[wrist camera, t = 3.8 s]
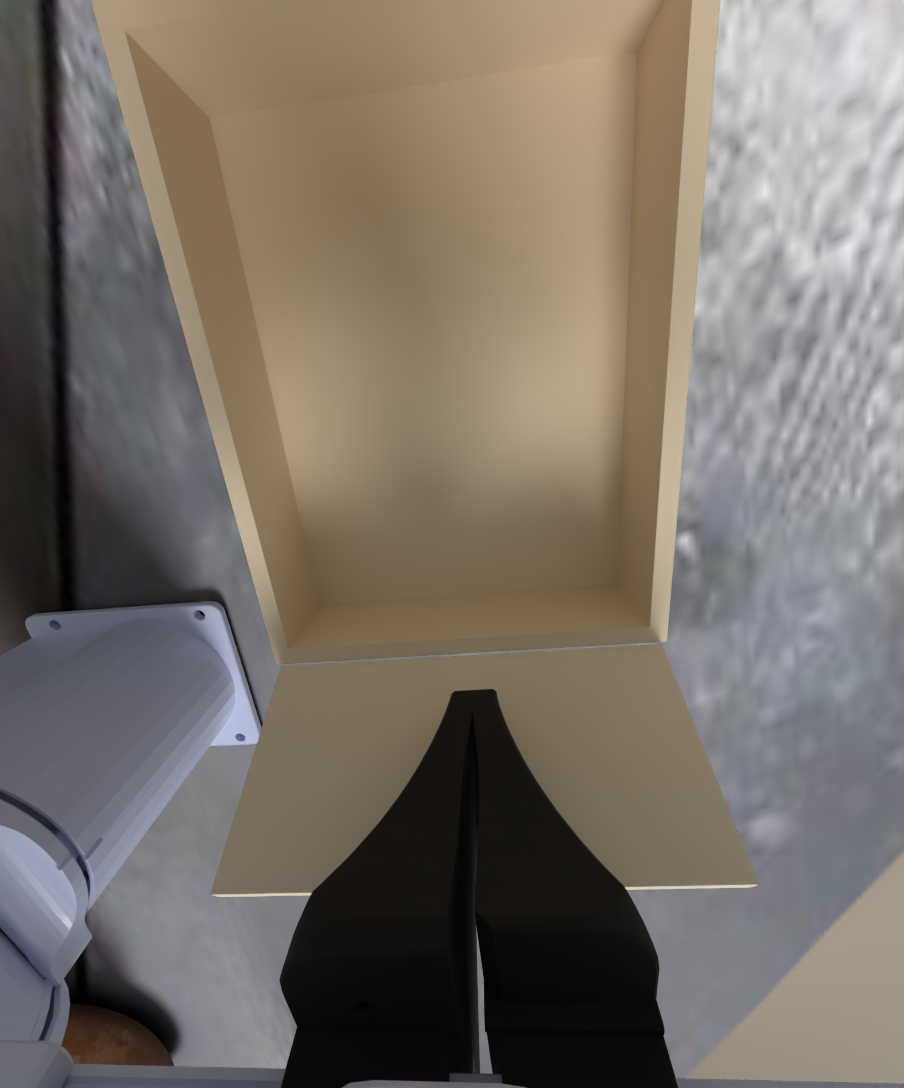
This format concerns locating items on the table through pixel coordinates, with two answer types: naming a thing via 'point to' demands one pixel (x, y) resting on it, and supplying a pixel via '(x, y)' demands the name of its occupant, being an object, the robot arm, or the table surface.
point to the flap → (540, 735)
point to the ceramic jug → (111, 1039)
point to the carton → (434, 301)
